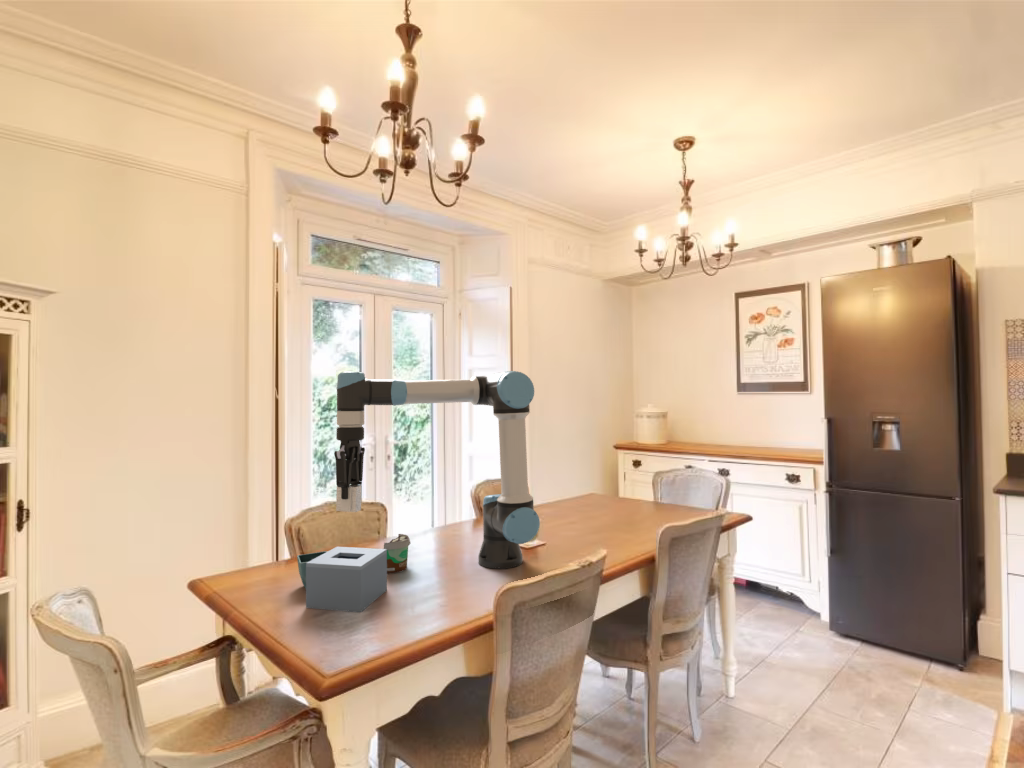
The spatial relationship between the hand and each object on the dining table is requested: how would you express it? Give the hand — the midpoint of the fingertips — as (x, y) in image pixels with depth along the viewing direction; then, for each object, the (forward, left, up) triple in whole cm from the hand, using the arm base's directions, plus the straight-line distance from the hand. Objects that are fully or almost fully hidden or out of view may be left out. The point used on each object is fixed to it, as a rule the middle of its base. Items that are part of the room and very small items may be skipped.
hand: (349, 509), depth 149 cm
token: (0, 0, 0) cm, 1 cm away
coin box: (0, 0, -25) cm, 25 cm away
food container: (-4, -27, -25) cm, 37 cm away
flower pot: (+15, -7, -25) cm, 30 cm away
